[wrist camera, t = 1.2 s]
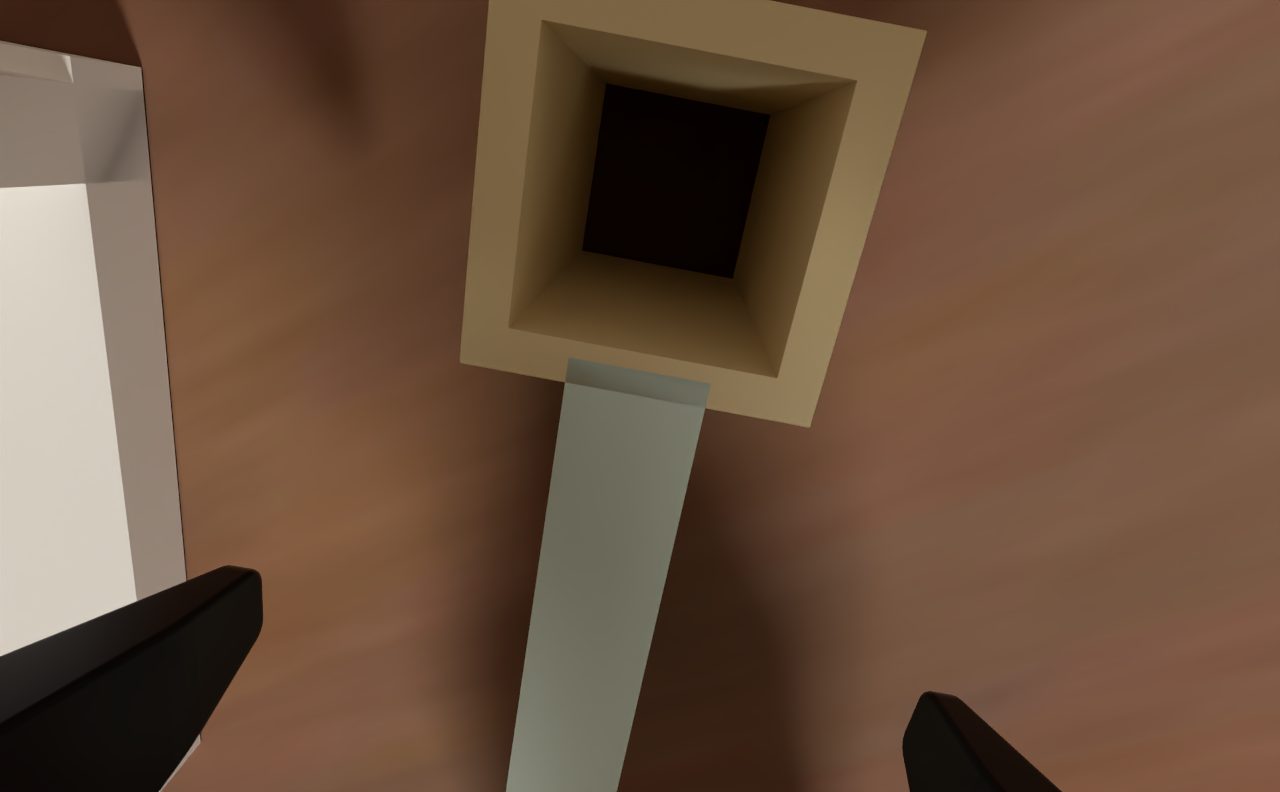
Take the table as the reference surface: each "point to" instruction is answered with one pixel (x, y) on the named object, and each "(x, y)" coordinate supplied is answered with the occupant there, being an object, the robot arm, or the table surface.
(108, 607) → the l-shaped pin bracket
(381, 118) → the table surface
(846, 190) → the square socket tool
